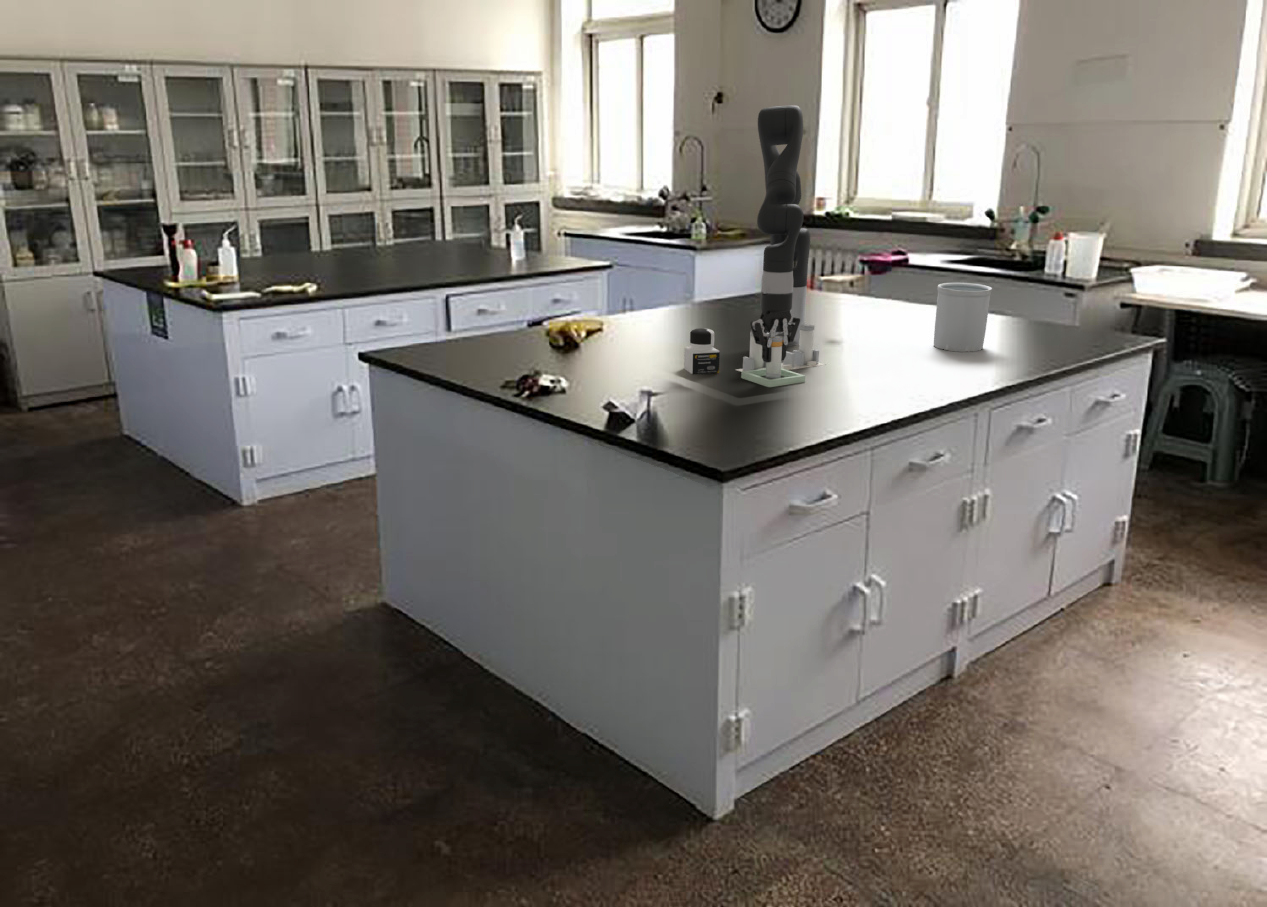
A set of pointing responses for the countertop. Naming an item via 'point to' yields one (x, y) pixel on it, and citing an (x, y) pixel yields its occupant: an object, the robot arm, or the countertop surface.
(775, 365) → the fuse marked
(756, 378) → the tray
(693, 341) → the medicine bottle
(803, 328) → the white capsule
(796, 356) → the holder
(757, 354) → the cylinder
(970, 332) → the utensil holder
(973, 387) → the countertop surface
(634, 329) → the countertop surface
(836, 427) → the countertop surface
